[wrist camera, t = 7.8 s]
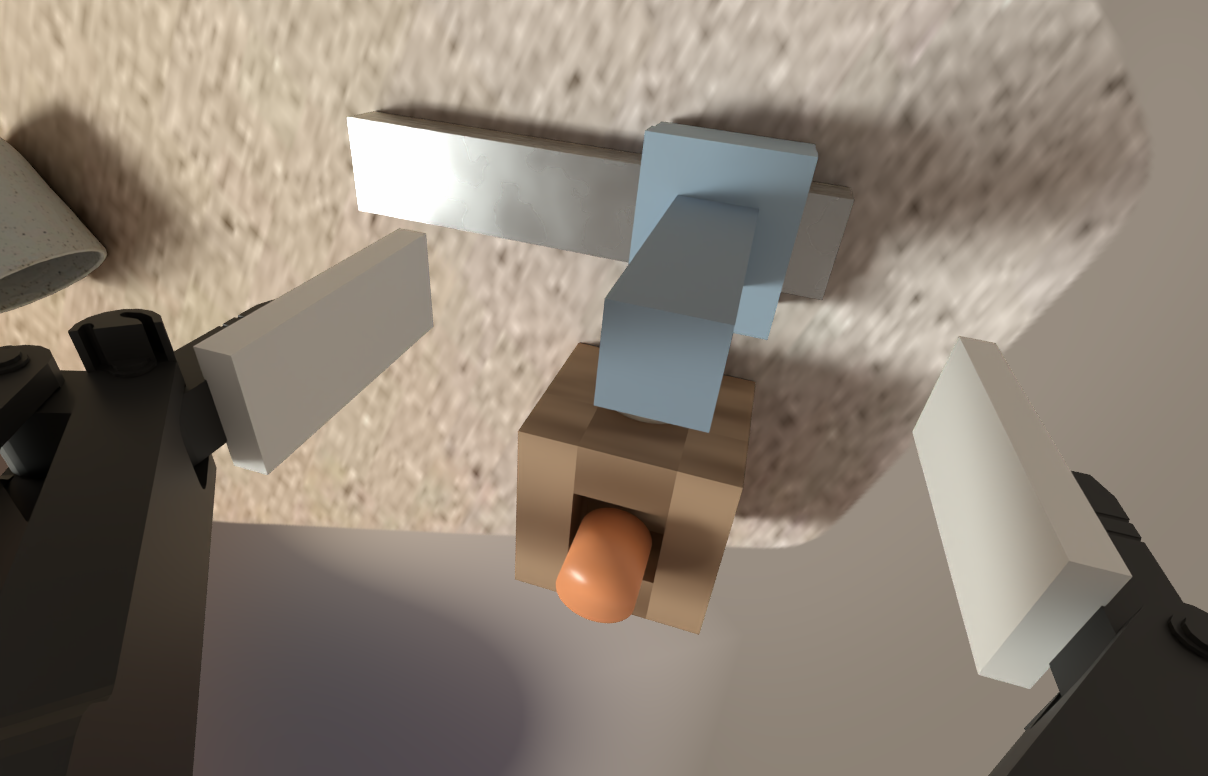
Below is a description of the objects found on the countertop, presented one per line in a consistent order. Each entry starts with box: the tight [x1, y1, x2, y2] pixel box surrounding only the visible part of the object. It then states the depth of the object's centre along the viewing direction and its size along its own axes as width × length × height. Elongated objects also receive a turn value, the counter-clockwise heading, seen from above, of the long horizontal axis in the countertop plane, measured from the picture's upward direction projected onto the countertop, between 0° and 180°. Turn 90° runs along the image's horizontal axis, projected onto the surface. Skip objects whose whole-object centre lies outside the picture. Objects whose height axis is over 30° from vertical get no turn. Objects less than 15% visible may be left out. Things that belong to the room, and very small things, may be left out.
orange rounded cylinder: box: [556, 508, 652, 623], centre depth 24 cm, size 3×3×3 cm
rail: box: [347, 111, 854, 300], centre depth 26 cm, size 4×21×2 cm, turn 85°
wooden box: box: [515, 343, 756, 635], centre depth 29 cm, size 10×9×8 cm
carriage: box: [594, 122, 818, 433], centre depth 20 cm, size 7×6×13 cm
